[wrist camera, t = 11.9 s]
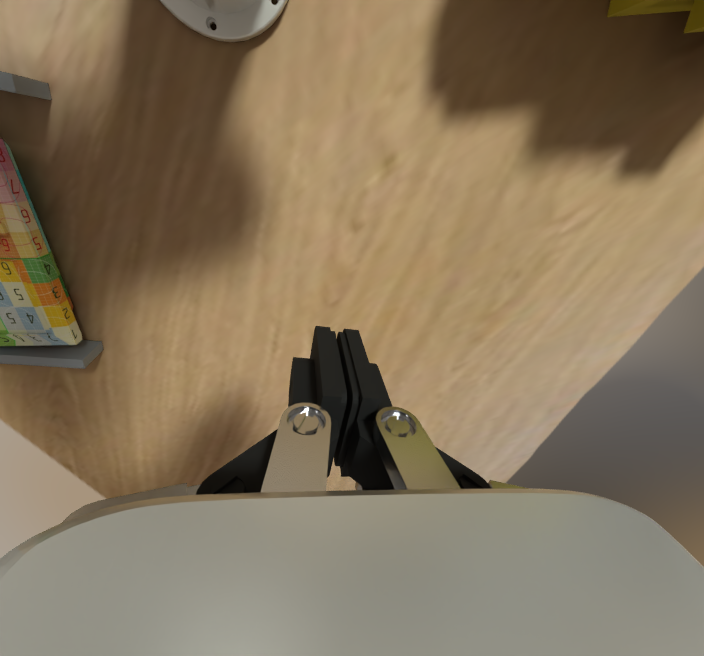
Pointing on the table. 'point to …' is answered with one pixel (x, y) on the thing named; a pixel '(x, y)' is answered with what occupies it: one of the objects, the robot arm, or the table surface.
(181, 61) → the table surface
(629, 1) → the toy blocks
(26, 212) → the puzzle game
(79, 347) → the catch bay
